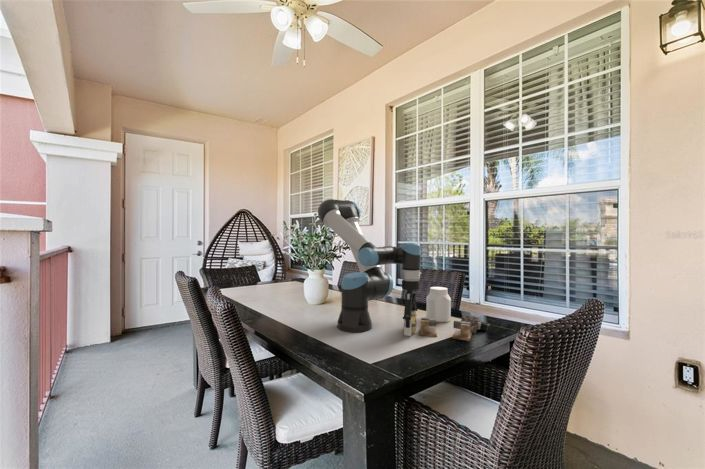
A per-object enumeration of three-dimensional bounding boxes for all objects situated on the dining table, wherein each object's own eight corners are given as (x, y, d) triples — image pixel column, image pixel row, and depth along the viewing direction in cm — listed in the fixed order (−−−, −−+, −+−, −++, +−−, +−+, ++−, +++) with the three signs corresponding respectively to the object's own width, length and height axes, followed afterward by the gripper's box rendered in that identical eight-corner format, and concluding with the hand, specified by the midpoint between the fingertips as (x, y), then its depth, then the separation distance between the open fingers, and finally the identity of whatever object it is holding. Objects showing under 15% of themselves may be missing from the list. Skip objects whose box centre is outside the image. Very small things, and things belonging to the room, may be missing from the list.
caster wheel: (484, 333, 144) (487, 337, 135) (458, 325, 148) (459, 329, 138) (488, 318, 145) (491, 321, 135) (461, 311, 148) (463, 313, 139)
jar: (446, 316, 163) (447, 286, 162) (453, 322, 153) (454, 290, 153) (423, 316, 162) (424, 286, 162) (429, 322, 152) (429, 290, 152)
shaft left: (420, 335, 133) (420, 320, 133) (419, 329, 141) (420, 315, 141) (436, 336, 132) (437, 321, 132) (435, 330, 140) (435, 316, 140)
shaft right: (452, 338, 130) (452, 323, 130) (455, 332, 137) (455, 318, 137) (469, 340, 127) (469, 325, 127) (471, 335, 134) (472, 320, 134)
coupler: (403, 332, 136) (404, 316, 136) (405, 329, 141) (405, 313, 141) (415, 334, 135) (415, 317, 135) (416, 330, 139) (416, 314, 139)
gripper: (416, 285, 125) (415, 340, 125) (423, 276, 148) (422, 323, 148) (396, 283, 127) (395, 338, 127) (406, 275, 150) (405, 321, 151)
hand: (410, 330), depth 138 cm, fingers open, 12 cm apart
